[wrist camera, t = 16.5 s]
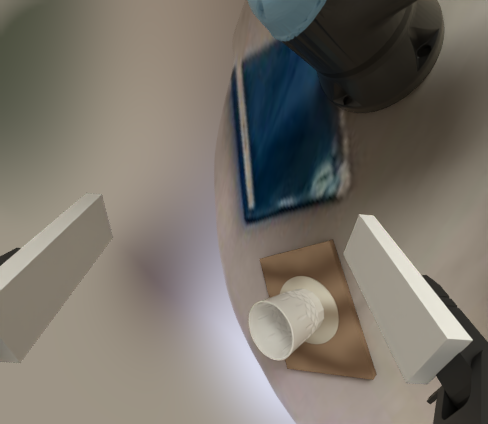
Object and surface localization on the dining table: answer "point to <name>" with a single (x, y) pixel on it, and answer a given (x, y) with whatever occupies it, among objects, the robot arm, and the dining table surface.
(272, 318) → the white cup
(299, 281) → the walnut board
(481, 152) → the dining table surface
